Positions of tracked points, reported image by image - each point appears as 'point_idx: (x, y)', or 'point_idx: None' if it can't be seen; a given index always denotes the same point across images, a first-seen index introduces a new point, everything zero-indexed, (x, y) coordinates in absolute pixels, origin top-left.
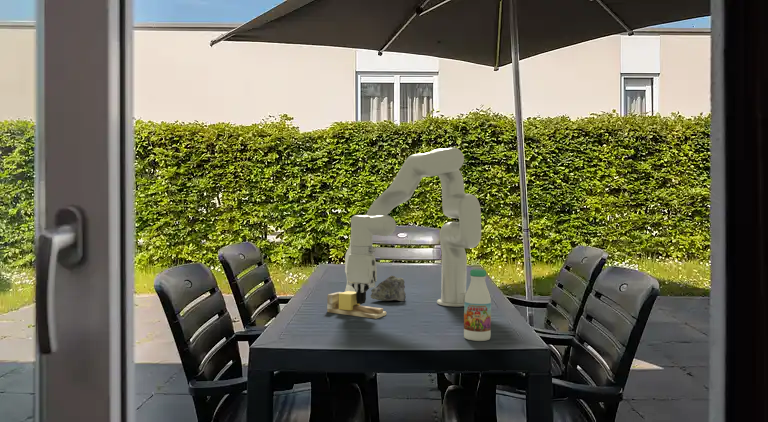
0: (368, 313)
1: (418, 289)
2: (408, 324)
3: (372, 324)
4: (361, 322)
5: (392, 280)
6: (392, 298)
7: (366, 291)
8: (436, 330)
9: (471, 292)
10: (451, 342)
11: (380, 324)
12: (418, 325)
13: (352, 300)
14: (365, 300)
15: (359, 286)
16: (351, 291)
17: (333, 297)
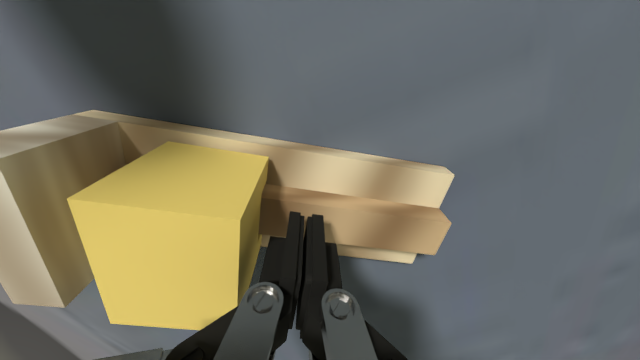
0: (366, 247)
1: None
2: (546, 281)
3: (410, 317)
4: (364, 310)
5: None
6: None
7: (346, 295)
8: (633, 311)
9: None
10: None
11: (438, 310)
12: (584, 281)
13: (249, 273)
14: (334, 244)
15: (254, 345)
16: (128, 217)
17: (79, 276)
